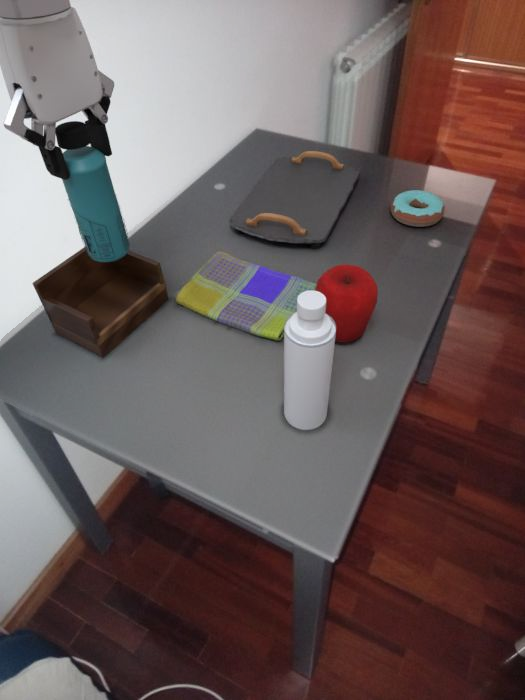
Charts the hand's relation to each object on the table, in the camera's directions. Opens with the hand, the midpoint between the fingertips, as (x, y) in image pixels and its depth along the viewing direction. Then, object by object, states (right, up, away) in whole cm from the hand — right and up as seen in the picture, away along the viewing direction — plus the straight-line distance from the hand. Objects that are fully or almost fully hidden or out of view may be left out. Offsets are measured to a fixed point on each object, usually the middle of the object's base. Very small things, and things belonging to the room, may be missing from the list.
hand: (81, 163), depth 64 cm
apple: (+38, -21, +25) cm, 50 cm away
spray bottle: (+30, -34, +13) cm, 48 cm away
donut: (+59, +7, +50) cm, 78 cm away
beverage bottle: (+1, -11, +11) cm, 15 cm away
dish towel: (+20, -14, +32) cm, 41 cm away
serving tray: (+32, +11, +55) cm, 65 cm away
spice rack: (-5, -18, +30) cm, 35 cm away
